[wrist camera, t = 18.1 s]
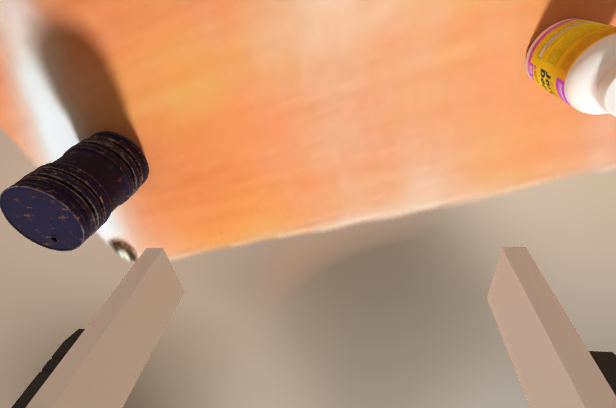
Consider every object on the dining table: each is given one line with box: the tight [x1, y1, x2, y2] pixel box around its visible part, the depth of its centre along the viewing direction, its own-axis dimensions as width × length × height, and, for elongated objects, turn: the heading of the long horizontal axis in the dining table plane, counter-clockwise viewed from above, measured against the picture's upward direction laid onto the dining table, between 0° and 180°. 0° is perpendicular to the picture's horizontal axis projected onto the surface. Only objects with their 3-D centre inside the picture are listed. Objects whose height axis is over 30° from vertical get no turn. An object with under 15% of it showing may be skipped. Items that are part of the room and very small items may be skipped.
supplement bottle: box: [525, 18, 616, 116], centre depth 30 cm, size 7×7×13 cm
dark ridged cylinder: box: [0, 132, 149, 251], centre depth 44 cm, size 10×10×15 cm
